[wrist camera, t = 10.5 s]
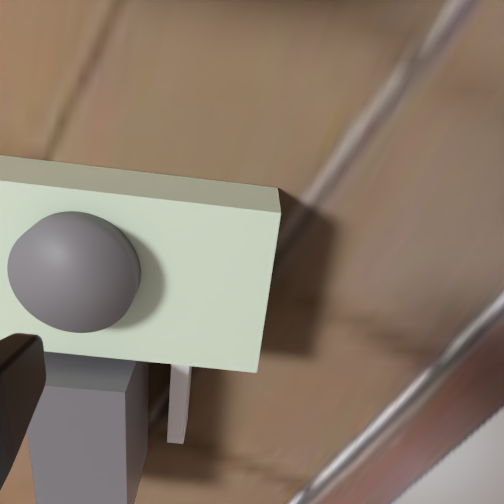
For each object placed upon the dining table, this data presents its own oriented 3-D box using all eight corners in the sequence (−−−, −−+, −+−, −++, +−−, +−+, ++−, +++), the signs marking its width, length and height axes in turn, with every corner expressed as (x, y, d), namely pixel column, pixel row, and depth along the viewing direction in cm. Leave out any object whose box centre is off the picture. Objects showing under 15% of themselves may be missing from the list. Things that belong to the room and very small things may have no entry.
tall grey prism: (149, 326, 22) (124, 392, 18) (148, 449, 25) (127, 528, 21) (64, 318, 22) (19, 383, 18) (74, 443, 25) (38, 521, 21)
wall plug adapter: (277, 187, 19) (282, 223, 15) (242, 426, 24) (240, 494, 21) (-75, 146, 18) (-157, 173, 15) (-30, 399, 24) (-82, 465, 20)
